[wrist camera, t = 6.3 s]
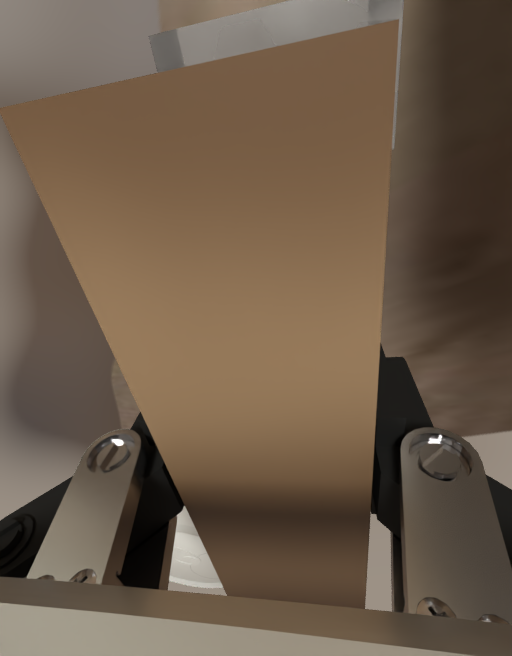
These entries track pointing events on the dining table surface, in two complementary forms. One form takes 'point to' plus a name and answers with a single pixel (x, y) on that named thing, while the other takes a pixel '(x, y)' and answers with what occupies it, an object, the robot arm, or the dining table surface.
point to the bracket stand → (272, 31)
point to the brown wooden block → (241, 286)
